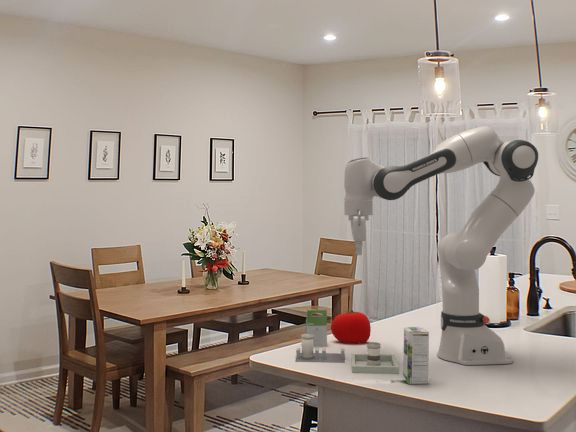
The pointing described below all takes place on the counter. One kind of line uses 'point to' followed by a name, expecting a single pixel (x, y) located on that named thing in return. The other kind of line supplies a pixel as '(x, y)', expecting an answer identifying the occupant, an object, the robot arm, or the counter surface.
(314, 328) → the ink box
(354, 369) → the tray
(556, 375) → the counter surface
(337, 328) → the tomato
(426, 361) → the syrup box
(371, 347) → the fuse
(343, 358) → the holder
